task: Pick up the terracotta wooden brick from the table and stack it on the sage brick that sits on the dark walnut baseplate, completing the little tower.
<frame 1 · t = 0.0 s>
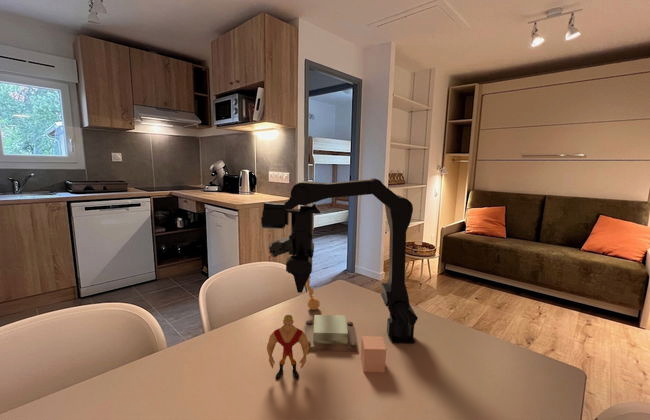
hand: (301, 284, 81), 15 cm above the table, tool pointing down, fingers open, 9 cm apart
tower base: (329, 336, 82), on the table
terracotta brick: (372, 365, 72), on the table
figurine: (310, 310, 97), on the table
action figure: (287, 376, 67), on the table
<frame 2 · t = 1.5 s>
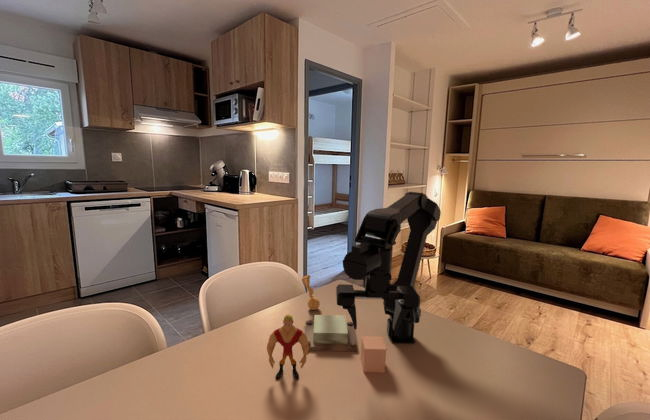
hand: (374, 329, 70), 9 cm above the table, tool pointing down, fingers open, 9 cm apart
nothing on the table moved.
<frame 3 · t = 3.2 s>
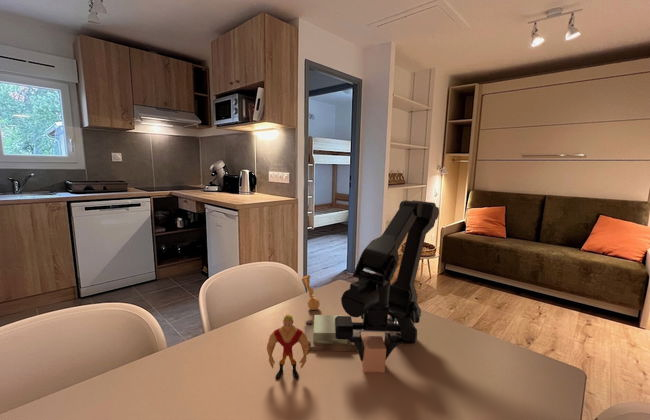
hand: (372, 360, 72), 1 cm above the table, tool pointing down, fingers closed on terracotta brick, 5 cm apart
terracotta brick: (372, 364, 72), on the table, touching gripper
everything else where it was.
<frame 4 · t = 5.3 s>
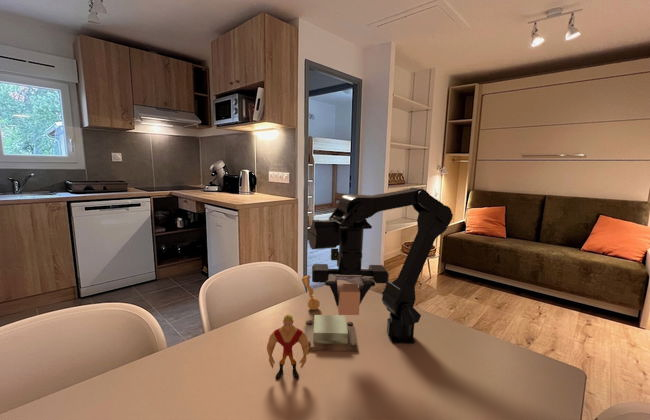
hand: (347, 305, 76), 12 cm above the table, tool pointing down, fingers closed on terracotta brick, 5 cm apart
terracotta brick: (347, 309, 76), point 11 cm above the table, touching gripper
everything else where it was.
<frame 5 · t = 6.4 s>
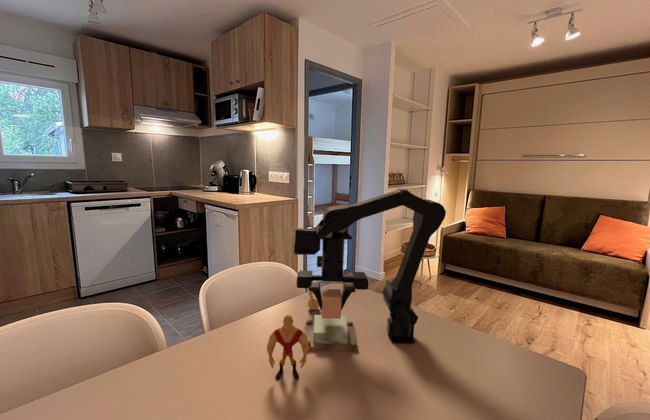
hand: (331, 309, 81), 8 cm above the table, tool pointing down, fingers closed on terracotta brick, 5 cm apart
terracotta brick: (331, 313, 81), point 7 cm above the table, touching gripper
everything else where it was.
when the fingers open (6 cm above the table, at t = 7.5 s): terracotta brick drops 1 cm, resting on tower base.
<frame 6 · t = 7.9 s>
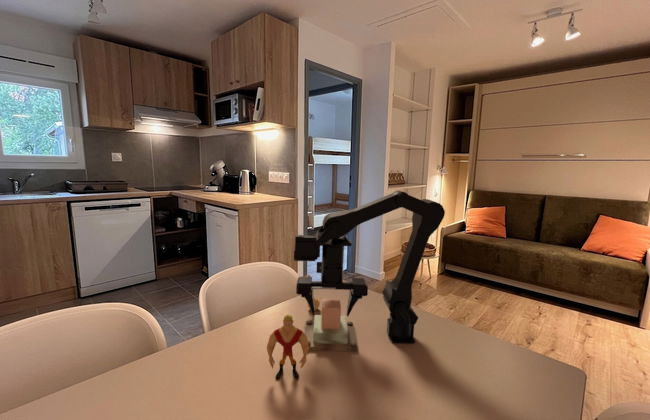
hand: (330, 315, 81), 6 cm above the table, tool pointing down, fingers open, 9 cm apart
terracotta brick: (330, 323, 82), point 4 cm above the table, touching tower base
everything else where it was.
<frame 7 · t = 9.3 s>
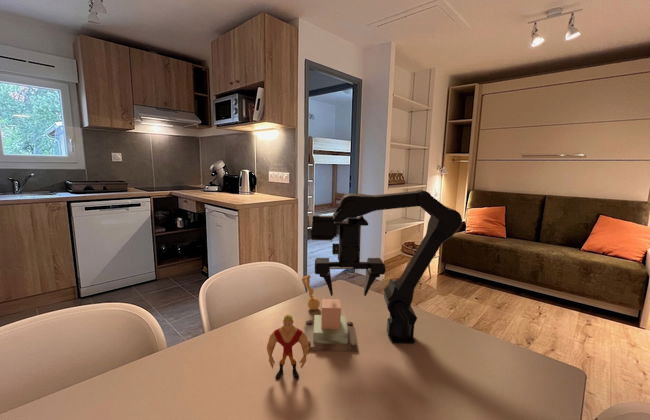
hand: (348, 295, 82), 12 cm above the table, tool pointing down, fingers open, 9 cm apart
nothing on the table moved.
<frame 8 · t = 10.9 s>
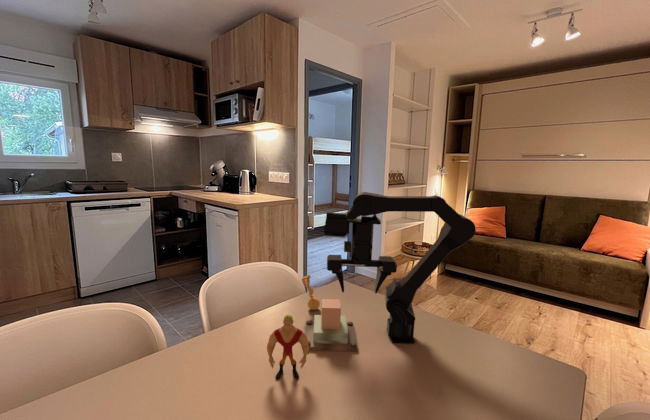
hand: (359, 292, 84), 12 cm above the table, tool pointing down, fingers open, 9 cm apart
nothing on the table moved.
at the end: terracotta brick 0.1 cm off-centre on the tower base, point 4.0 cm above the tower base's base; terracotta brick tilted 0°; the gripper is holding nothing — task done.
